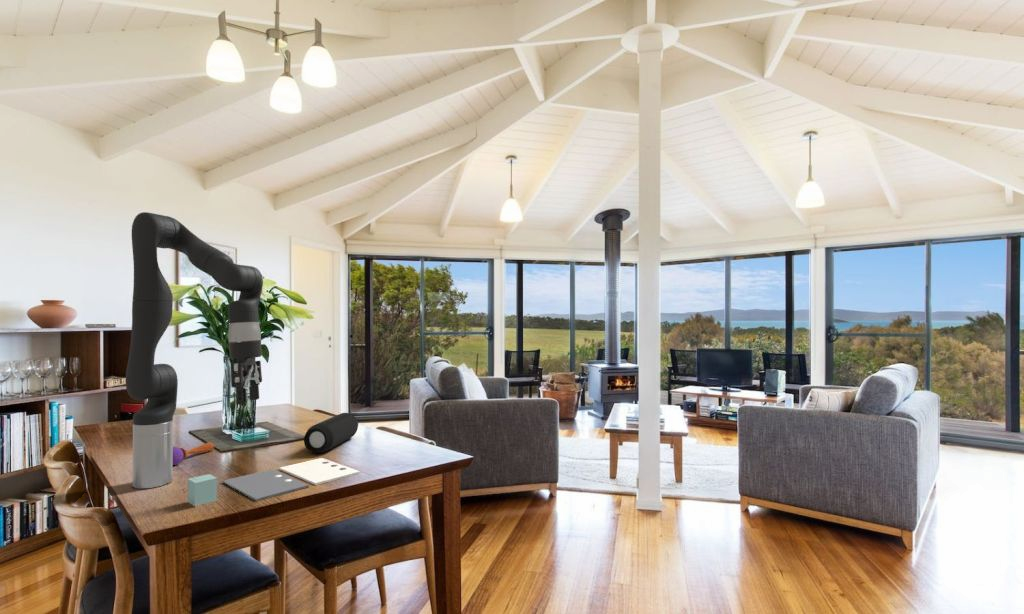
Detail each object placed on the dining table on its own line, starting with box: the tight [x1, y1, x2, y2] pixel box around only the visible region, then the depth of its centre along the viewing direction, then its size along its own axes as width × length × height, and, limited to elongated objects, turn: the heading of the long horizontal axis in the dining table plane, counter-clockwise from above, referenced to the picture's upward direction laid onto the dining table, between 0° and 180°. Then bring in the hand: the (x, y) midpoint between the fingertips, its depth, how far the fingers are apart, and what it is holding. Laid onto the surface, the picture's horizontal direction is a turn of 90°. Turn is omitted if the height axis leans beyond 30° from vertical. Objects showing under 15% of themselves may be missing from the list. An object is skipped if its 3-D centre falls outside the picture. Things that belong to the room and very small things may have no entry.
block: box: [187, 473, 218, 507], centre depth 130 cm, size 5×5×6 cm
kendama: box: [173, 441, 215, 466], centre depth 168 cm, size 6×6×20 cm
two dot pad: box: [221, 468, 310, 502], centre depth 143 cm, size 22×14×1 cm, turn 49°
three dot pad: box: [278, 457, 361, 486], centre depth 155 cm, size 22×14×1 cm, turn 49°
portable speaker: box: [303, 412, 359, 454], centre depth 186 cm, size 26×10×10 cm, turn 173°
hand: (248, 401), depth 135 cm, fingers open, 8 cm apart
